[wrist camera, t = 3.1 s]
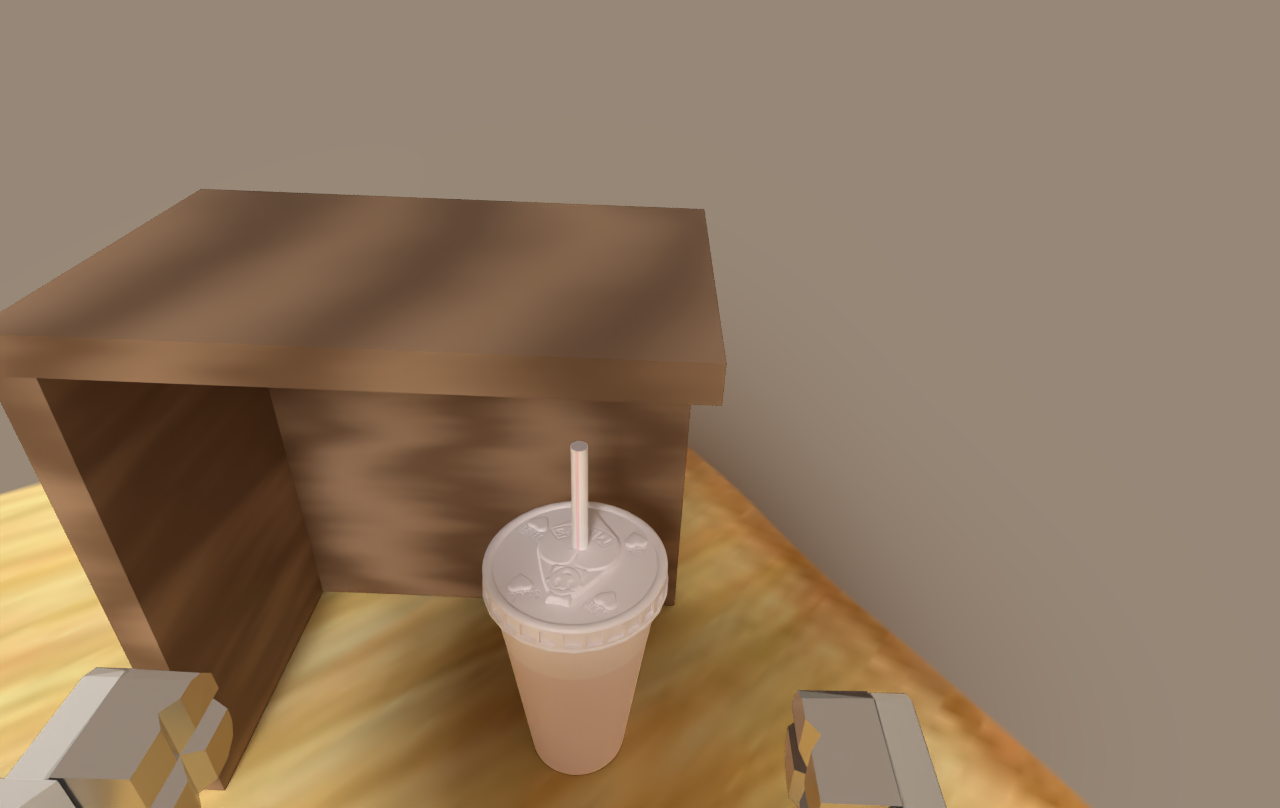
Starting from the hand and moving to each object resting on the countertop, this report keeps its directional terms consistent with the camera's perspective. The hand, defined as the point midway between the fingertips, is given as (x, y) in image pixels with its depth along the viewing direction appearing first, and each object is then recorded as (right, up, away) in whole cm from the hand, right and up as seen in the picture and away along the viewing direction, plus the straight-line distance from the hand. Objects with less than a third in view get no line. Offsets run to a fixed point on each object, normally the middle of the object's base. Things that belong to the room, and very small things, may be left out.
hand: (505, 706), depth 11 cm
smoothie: (-1, -9, +21) cm, 23 cm away
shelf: (-6, -7, +23) cm, 25 cm away
